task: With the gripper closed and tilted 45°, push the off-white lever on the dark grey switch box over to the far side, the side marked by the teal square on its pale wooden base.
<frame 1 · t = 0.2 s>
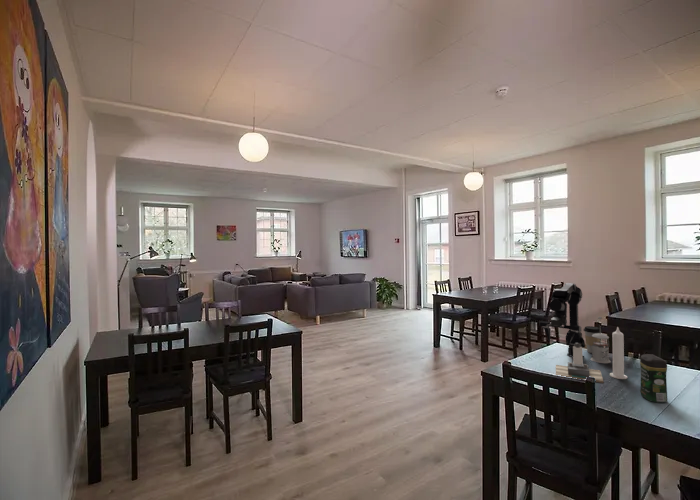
hand: (558, 342, 190), 15 cm above the table, tool pointing down, fingers open, 9 cm apart
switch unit: (578, 374, 186), on the table
french press: (601, 360, 207), on the table
coffee jar: (653, 399, 156), on the table
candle: (618, 377, 182), on the table
coffee cup: (592, 352, 221), on the table
lever: (577, 353, 188), point 10 cm above the table, hinge at -20.0°
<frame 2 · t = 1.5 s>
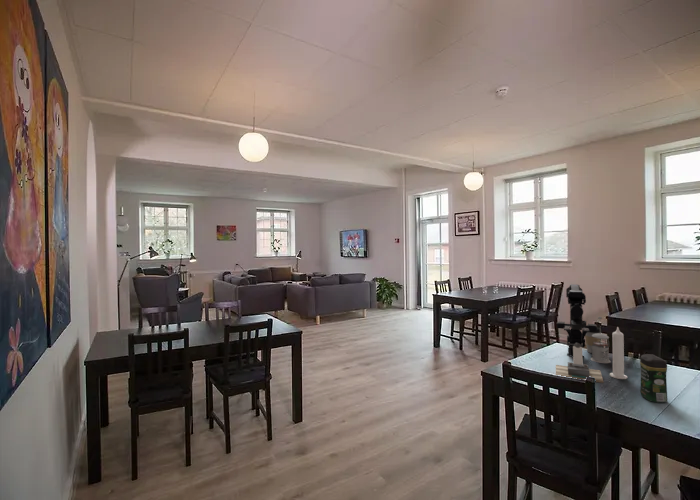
hand: (576, 341, 199), 13 cm above the table, tool pointing down, fingers open, 5 cm apart
lever: (577, 353, 188), point 10 cm above the table, hinge at -23.6°
everything else where it was.
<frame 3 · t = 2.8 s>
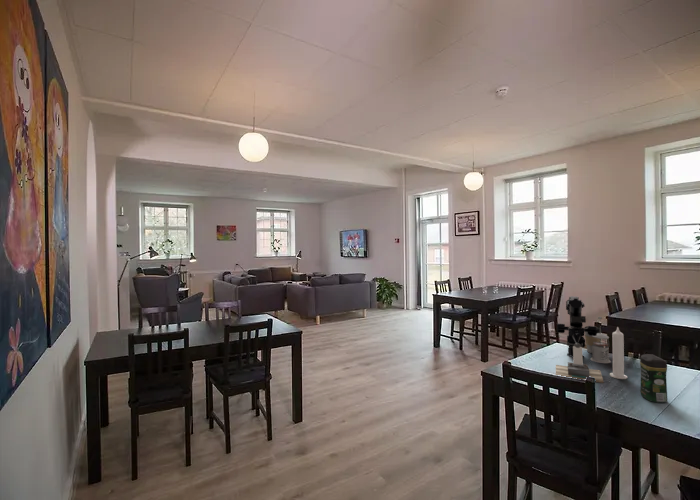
hand: (576, 343, 195), 13 cm above the table, tool tilted 45°, fingers closed
nothing on the table moved.
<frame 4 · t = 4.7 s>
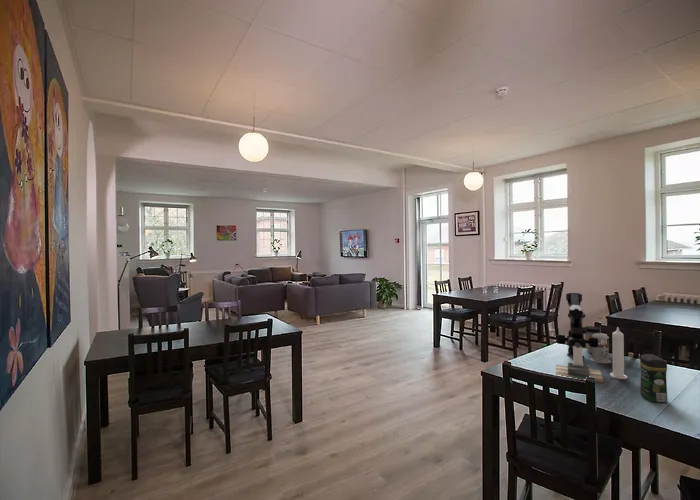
hand: (577, 355, 189), 9 cm above the table, tool tilted 45°, fingers closed, pressing on lever
lever: (577, 353, 188), point 10 cm above the table, hinge at -20.0°, touching gripper
everything else where it was.
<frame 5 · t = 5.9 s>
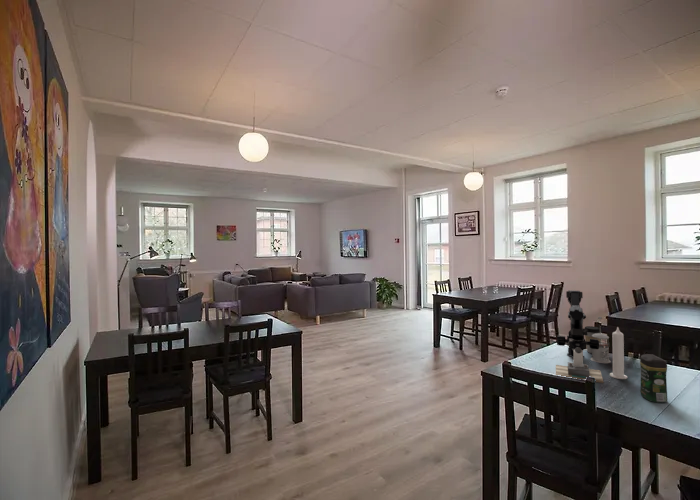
hand: (578, 356, 185), 9 cm above the table, tool tilted 45°, fingers closed, pressing on lever
lever: (578, 356, 184), point 10 cm above the table, hinge at 24.4°, touching gripper
everything else where it was.
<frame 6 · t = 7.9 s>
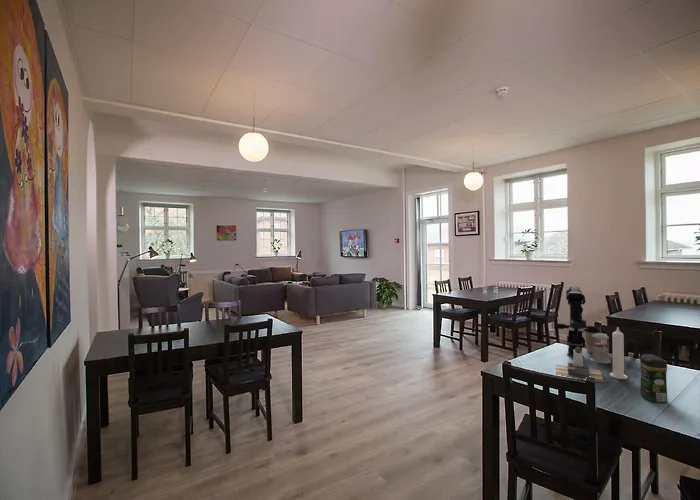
hand: (576, 343, 199), 12 cm above the table, tool pointing down, fingers closed
lever: (578, 356, 184), point 10 cm above the table, hinge at 24.5°
everything else where it was.
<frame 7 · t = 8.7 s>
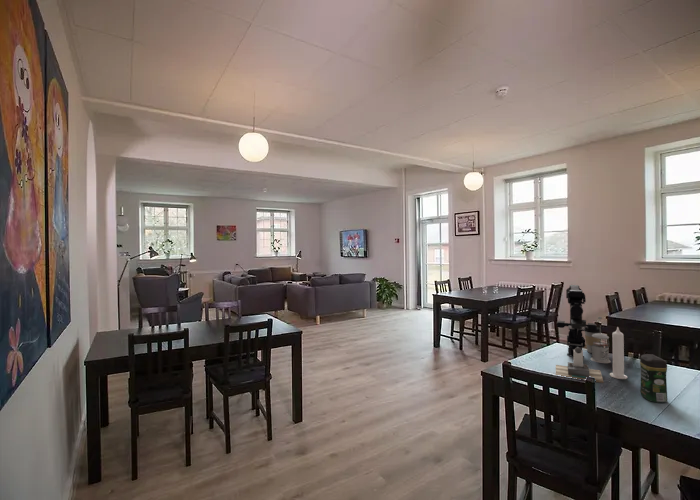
hand: (576, 340, 201), 13 cm above the table, tool pointing down, fingers closed
nothing on the table moved.
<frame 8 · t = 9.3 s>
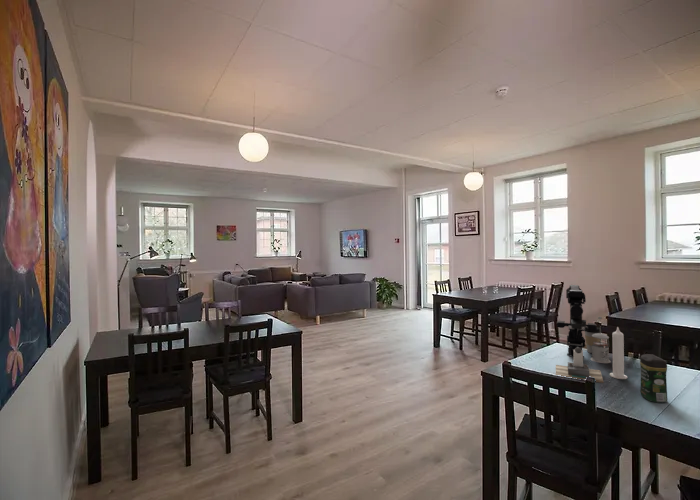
hand: (576, 340, 201), 13 cm above the table, tool pointing down, fingers closed
nothing on the table moved.
at the end: lever at +24° (first picture: -20°); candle moved 0.2 cm from its start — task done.
